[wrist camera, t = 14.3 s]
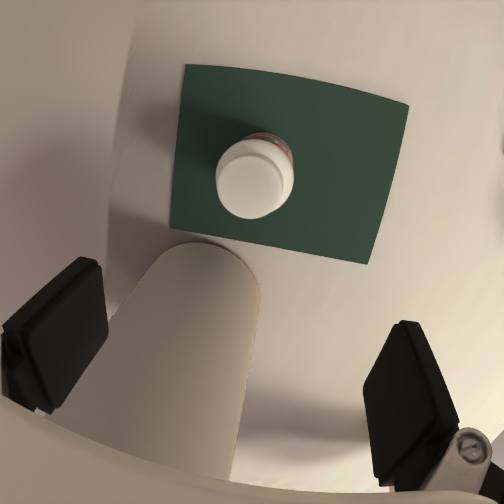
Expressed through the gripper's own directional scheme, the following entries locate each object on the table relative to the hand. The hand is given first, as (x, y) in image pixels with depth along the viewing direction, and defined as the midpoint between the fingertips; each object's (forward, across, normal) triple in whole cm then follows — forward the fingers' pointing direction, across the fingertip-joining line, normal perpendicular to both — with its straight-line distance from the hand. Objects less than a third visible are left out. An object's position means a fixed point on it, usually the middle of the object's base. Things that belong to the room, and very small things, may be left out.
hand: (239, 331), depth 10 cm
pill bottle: (+21, +2, -2) cm, 21 cm away
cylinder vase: (+22, +6, +14) cm, 26 cm away
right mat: (+21, 0, -2) cm, 21 cm away
